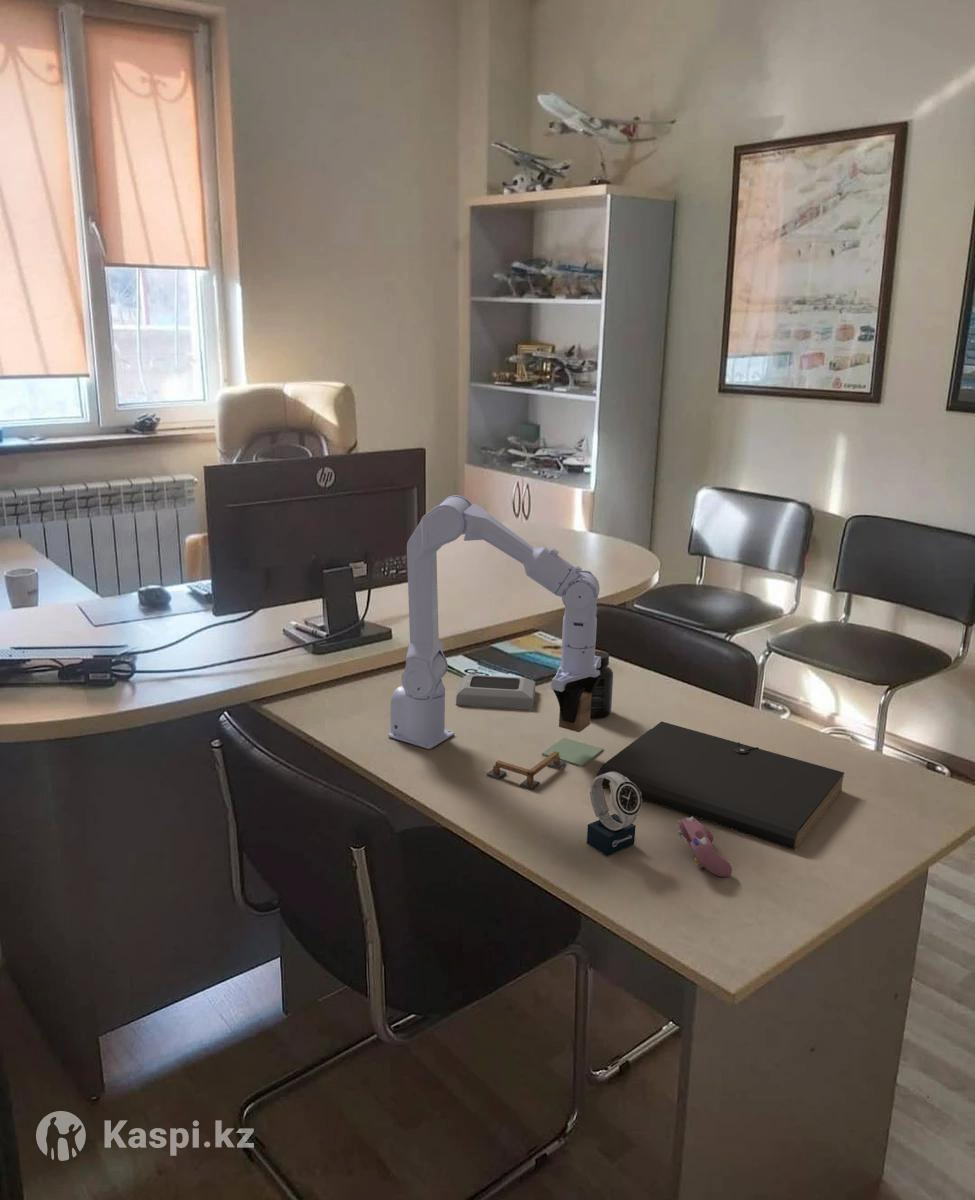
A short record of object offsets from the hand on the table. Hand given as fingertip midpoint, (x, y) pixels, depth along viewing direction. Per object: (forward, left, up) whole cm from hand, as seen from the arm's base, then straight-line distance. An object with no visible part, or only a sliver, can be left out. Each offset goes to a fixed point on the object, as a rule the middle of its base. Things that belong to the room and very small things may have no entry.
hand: (574, 716), depth 171 cm
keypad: (-24, +13, -8) cm, 29 cm away
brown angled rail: (-3, -11, -7) cm, 13 cm away
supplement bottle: (-5, +18, -7) cm, 20 cm away
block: (0, 0, -2) cm, 2 cm away
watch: (+19, -24, -7) cm, 31 cm away
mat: (0, 0, -7) cm, 7 cm away
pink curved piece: (+32, -21, -7) cm, 38 cm away
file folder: (+26, +2, -8) cm, 27 cm away
